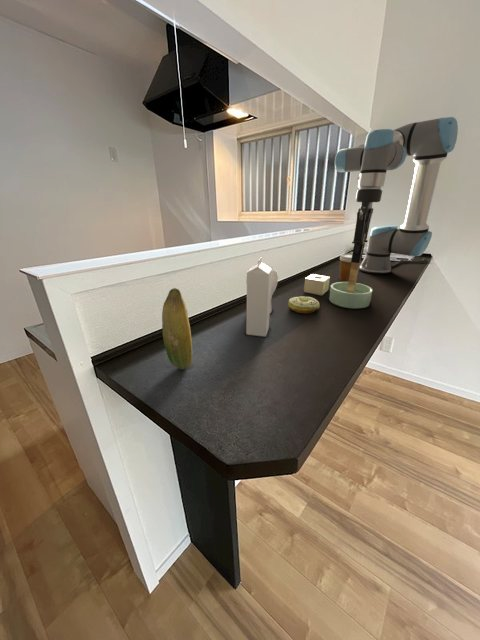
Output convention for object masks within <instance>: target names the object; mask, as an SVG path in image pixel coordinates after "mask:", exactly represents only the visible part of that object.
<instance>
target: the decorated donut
mask: <svg viewBox="0 0 480 640" xmlns="http://www.w3.org/2000/svg"><path fill="white" fill-rule="evenodd" d="M288 307H289V308H290V310H292V311H293V312H295V313H298V314H313V313H314V312H316V311H317V310H319V309H320V302H319V301H318V300H317V299H316V298H314V297H311V296H303V295H301V296H294V297H291V298H290V299H288Z"/></svg>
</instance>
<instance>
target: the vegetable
mask: <svg viewBox="0 0 480 640" xmlns="http://www.w3.org/2000/svg"><path fill="white" fill-rule="evenodd" d="M188 313H189V312H188V309H187V306H186V302H185V301H184V297H183V296H182V293H181V290H179V289H178V288H176V287H173V288H171V289H170V290H169V291H168V293H167V296H166V299H165V301H164V302H163V305H162V311H161V322H162V323H161V324H162V326H161V329H162V340H163V345H164V348H165V351H166V355H167V358H168V360H169V362H170V364H171V365H172V366H173V367H174V368H176V369H179V370H186V369H188V368H190V366H191V364H192V362H193V340H192V332H191V331H192V330H191V325H190V318H189V315H188Z"/></svg>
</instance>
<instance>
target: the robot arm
mask: <svg viewBox="0 0 480 640" xmlns="http://www.w3.org/2000/svg"><path fill="white" fill-rule="evenodd" d="M458 131H459V125H458V120H457V118H456V117H454V116H447V117H440V118H433V119H428V120H423V121H416V122H411V123H407V124H405V125H403V126H399V127H397V128H395V129H391V128H382V129H375V130H371V131H369V132H368V133H367V135H366V138H365V143H362V144H359V145H356V146H354V147H346V148H342V149H339V150H338V151H337V153H336V154H335V158H334V168H335V170H336V172H338V173H351V172H352V173H353V172H359V177H357V178H356V180H357V182H358V185H357V188H359V189H357V190H356V195H355V202H356V203H361V205H360V208H358V210H357V212H356V222H355V223H356V224H355V229H354V236H353V241H351V244H353V249H352V253H351V254H352V259H351V262H353V263H359V262H360V266H359V271H360V272H362V273H366V274H370V275H388V274H390V273H391V270H392V268H393V267H396V266H397V265H399V264H408V263H411V264H412V263H416V264H418V263H419V264H420V263H424V262H425V260H426V259H425V258H424V257H423V258H422V260H404V261H397V262H396V263H395V264H392V265H391V255H392V254H394V255H403V256H407V257H420V256H422V255H423V254H424V252H425V251H426V250H427V248H428V247H429V244H430V242H431V240H432V236H433V232H432V231H430V226H429V225H428V223H427V222H428V221H427V220H428V217H429V213H430V209H431V204H432V200H433V196H434V192H435V189H436V183H437V180H438V175H439V172H440V167H441V165H442V164H441V163H442V162H443V161H444V160H446V158H447V156H448V153H451V152H453V150H454V149H455V147H456V143H457V139H458V133H459V132H458ZM410 156H413V157H412V162H413V163H414V164H415V167H414V173H413V177H412V178H413V179H412V185H411V188H410V193H409V199H408V203H407V208H406V212H405V213H406V214H405V219H404V222H403V223H402V224H401V225H400V226H399V228H398V225H383V226H374V227H373V228H371V230H370V233H369V229H370V225H371V221H372V217H373V213H374V208H373V203H380V202H381V200H382V195H383V189H382V188H384V186H385V182H386V177H387V171H394V170H397V169H398V168H400V167H401V166H402V165H403V164H404V162H405V161H406V158H407V157H410ZM368 233H369V236H368ZM364 234H366V235H365V240H364V245H363V244H362V243H363V238H364ZM366 243H367V246H366V247H367V248H366V253H365V256H364V258H363V255H364V249H365V245H366ZM362 247H363V250H362ZM361 252H362V256H361ZM360 257H361V261H360Z"/></svg>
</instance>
